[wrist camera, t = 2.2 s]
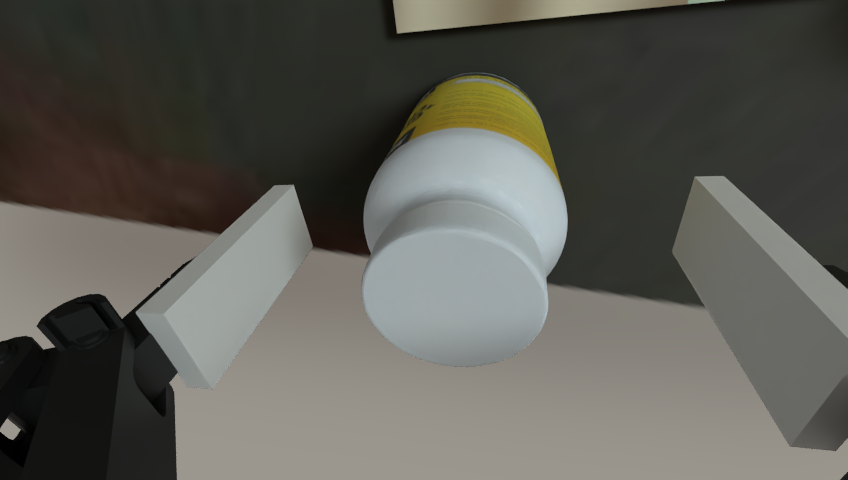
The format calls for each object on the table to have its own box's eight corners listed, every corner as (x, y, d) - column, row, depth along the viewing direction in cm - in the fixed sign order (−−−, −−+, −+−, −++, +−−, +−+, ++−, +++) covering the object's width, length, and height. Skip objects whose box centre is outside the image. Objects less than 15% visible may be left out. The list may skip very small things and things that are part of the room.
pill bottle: (455, 37, 17) (401, 125, 7) (572, 121, 18) (659, 291, 8) (386, 156, 20) (289, 318, 11) (487, 219, 21) (480, 414, 12)
